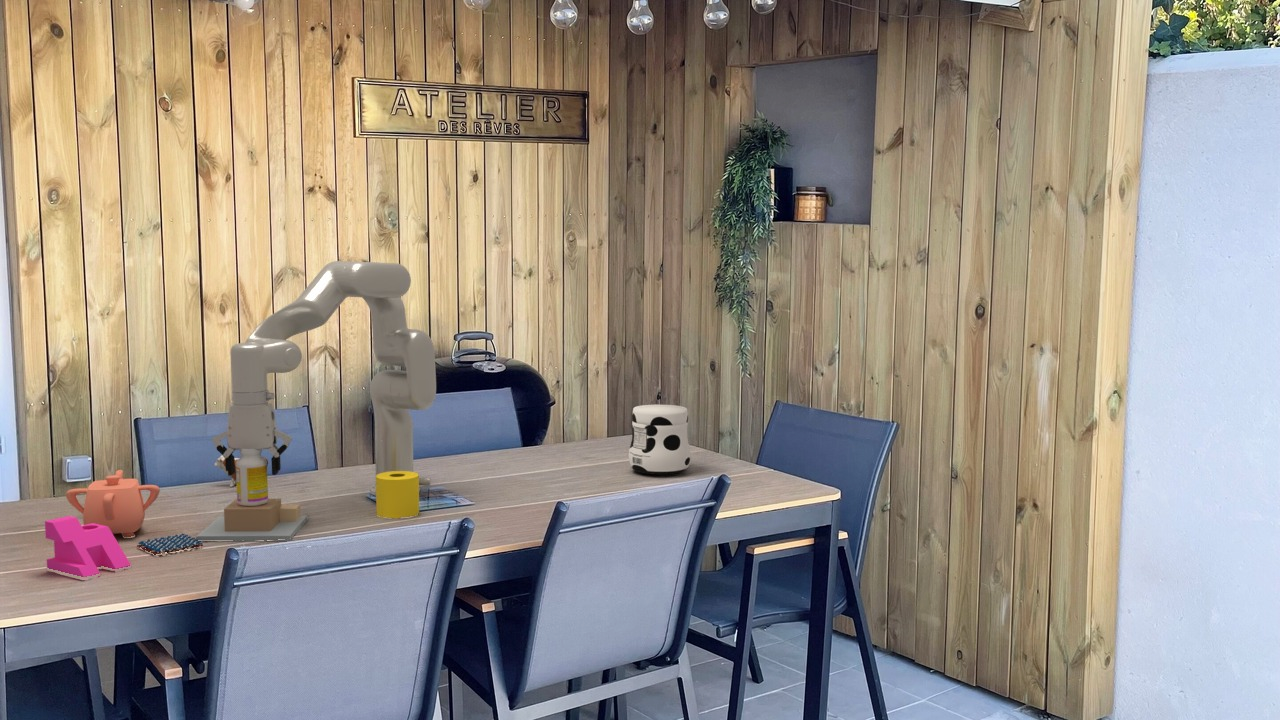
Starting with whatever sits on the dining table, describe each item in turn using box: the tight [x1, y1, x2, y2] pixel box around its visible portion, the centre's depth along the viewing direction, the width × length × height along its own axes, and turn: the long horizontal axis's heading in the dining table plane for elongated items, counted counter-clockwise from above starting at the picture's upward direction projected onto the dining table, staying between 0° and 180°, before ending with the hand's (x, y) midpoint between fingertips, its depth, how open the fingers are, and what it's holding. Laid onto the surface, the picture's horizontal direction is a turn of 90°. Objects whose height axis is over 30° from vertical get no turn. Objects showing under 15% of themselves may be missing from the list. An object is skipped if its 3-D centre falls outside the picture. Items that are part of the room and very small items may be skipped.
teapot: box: [65, 469, 161, 537], centre depth 268 cm, size 17×16×13 cm
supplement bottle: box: [236, 449, 269, 506], centre depth 271 cm, size 7×7×13 cm
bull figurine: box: [213, 454, 269, 488], centre depth 318 cm, size 4×13×8 cm, turn 108°
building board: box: [195, 498, 309, 542], centre depth 272 cm, size 20×18×6 cm
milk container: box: [628, 403, 692, 476], centre depth 338 cm, size 17×17×18 cm
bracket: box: [44, 515, 132, 577], centre depth 241 cm, size 12×10×10 cm
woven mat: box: [136, 533, 204, 556], centre depth 257 cm, size 10×11×2 cm
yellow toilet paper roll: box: [375, 471, 420, 518], centre depth 288 cm, size 10×10×9 cm
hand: (253, 474), depth 271 cm, fingers open, 9 cm apart
